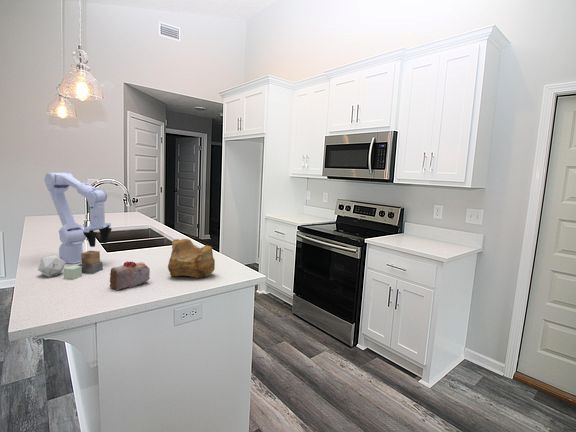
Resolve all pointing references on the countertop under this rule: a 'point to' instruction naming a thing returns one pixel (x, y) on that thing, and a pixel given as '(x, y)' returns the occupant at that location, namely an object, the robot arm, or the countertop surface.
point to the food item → (129, 275)
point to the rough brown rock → (190, 259)
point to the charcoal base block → (91, 268)
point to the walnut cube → (90, 257)
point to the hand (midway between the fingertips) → (98, 244)
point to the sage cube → (72, 272)
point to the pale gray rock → (51, 265)
